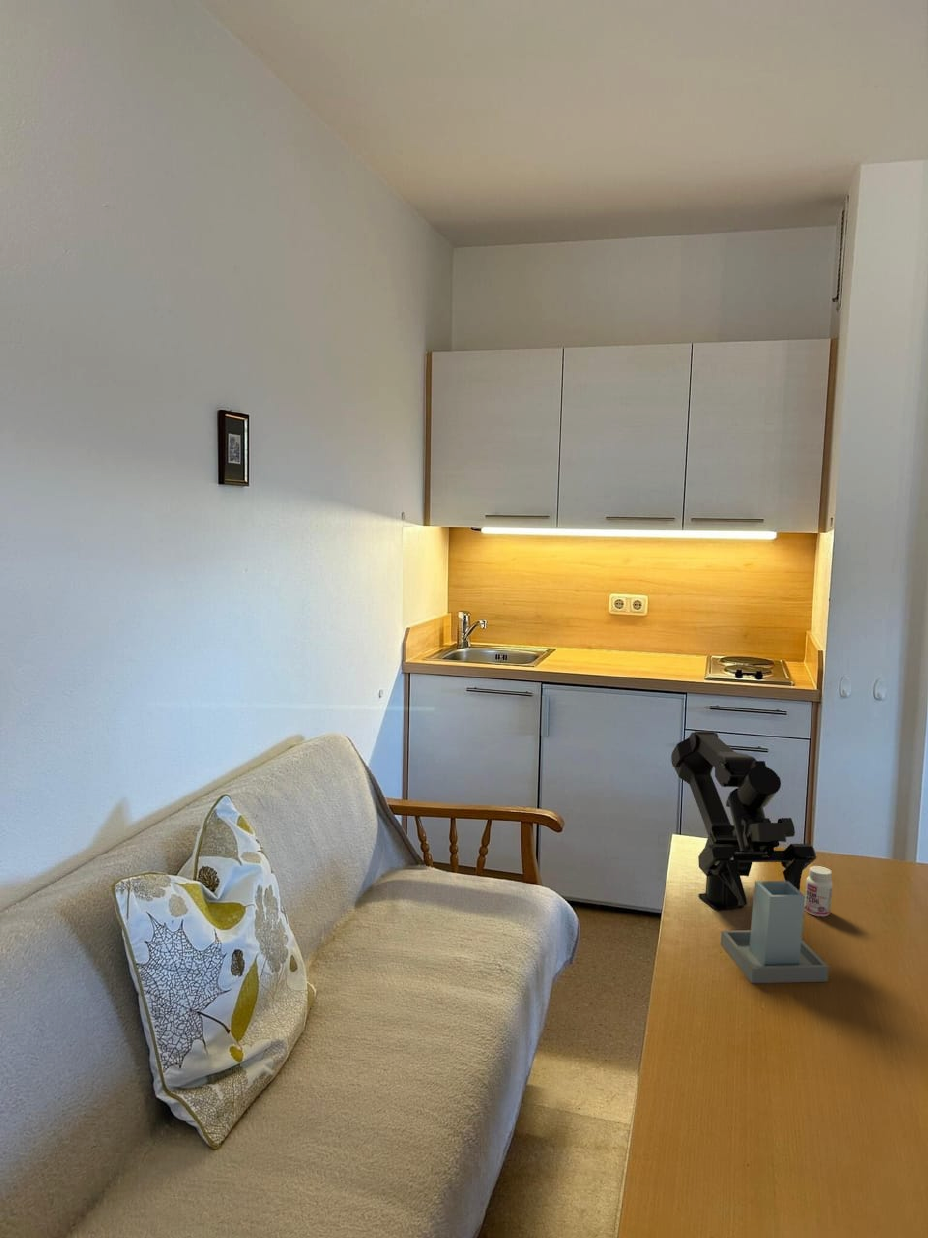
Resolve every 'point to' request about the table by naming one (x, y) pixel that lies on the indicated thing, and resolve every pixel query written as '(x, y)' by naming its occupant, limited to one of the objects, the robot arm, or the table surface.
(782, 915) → the slim crate
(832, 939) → the table surface
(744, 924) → the table surface
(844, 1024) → the table surface
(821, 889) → the pill bottle
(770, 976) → the shallow crate
